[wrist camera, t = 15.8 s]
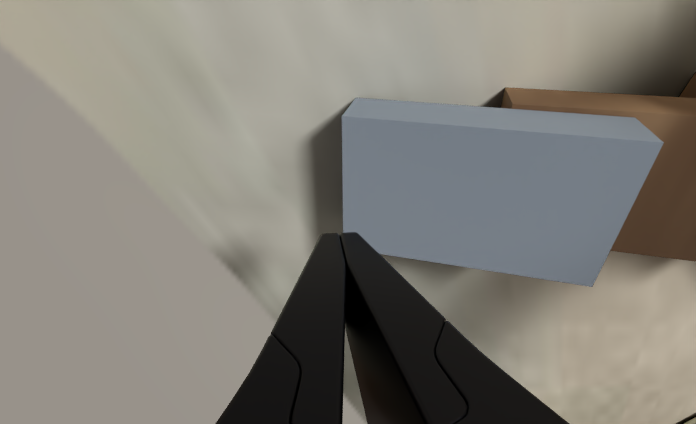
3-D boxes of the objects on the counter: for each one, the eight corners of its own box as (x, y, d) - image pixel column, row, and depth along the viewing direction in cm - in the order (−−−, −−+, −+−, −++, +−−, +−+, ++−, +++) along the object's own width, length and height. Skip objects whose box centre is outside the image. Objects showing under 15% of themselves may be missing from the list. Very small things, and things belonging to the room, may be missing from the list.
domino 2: (504, 87, 12) (790, 103, 11) (477, 208, 15) (705, 233, 14) (512, 104, 11) (844, 124, 10) (480, 234, 14) (736, 266, 12)
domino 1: (355, 97, 12) (635, 117, 10) (354, 219, 15) (577, 250, 13) (341, 115, 11) (664, 142, 9) (343, 248, 13) (592, 286, 12)
